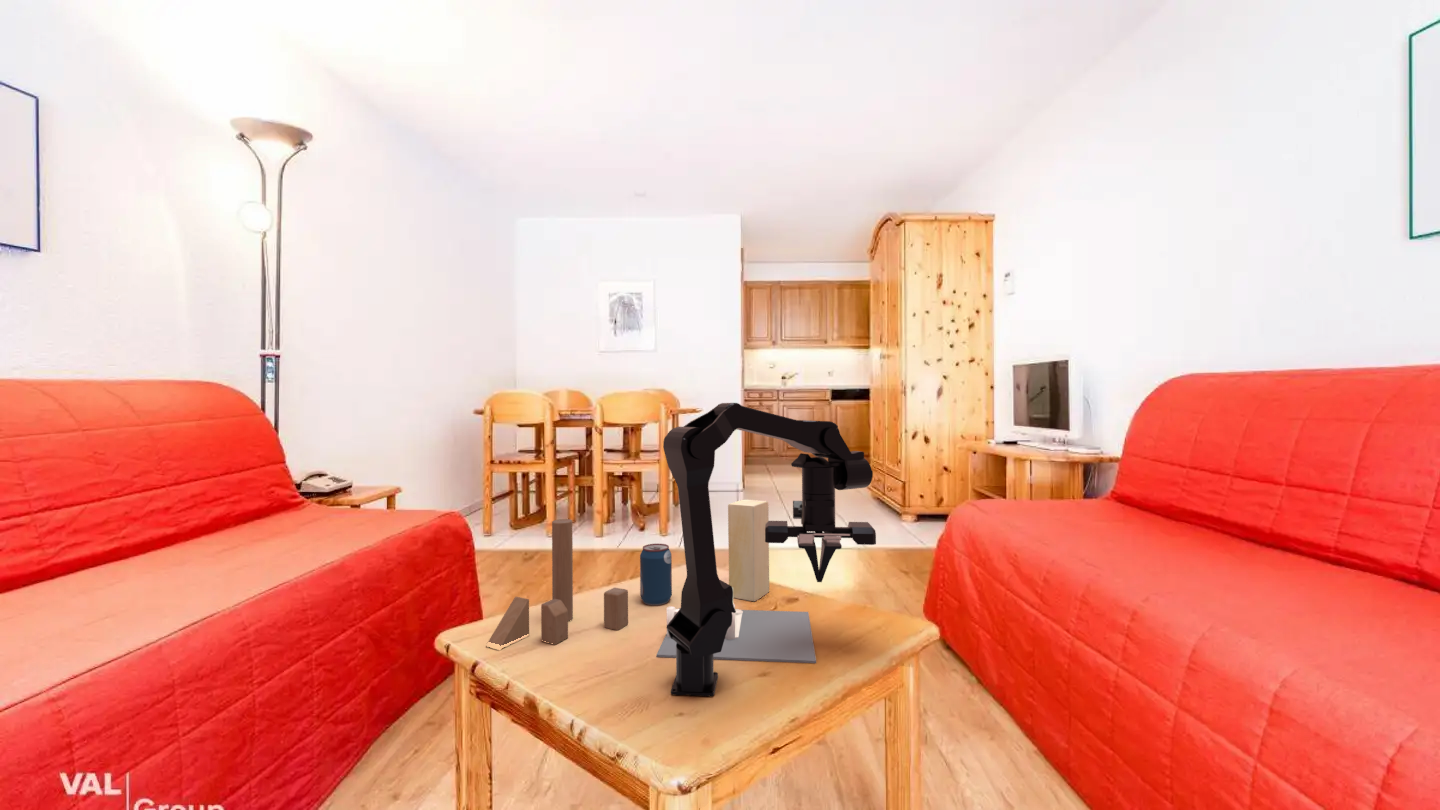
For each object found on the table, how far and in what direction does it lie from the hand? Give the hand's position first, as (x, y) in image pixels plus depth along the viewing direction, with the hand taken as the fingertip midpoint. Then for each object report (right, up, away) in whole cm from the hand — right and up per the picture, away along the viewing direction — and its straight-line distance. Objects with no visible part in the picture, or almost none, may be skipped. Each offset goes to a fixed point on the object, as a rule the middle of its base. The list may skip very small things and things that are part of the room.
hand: (819, 581), depth 96 cm
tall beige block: (-11, -13, +29) cm, 34 cm away
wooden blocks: (-47, -13, +7) cm, 50 cm away
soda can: (-32, -13, +25) cm, 42 cm away
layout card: (-14, -12, +7) cm, 20 cm away
